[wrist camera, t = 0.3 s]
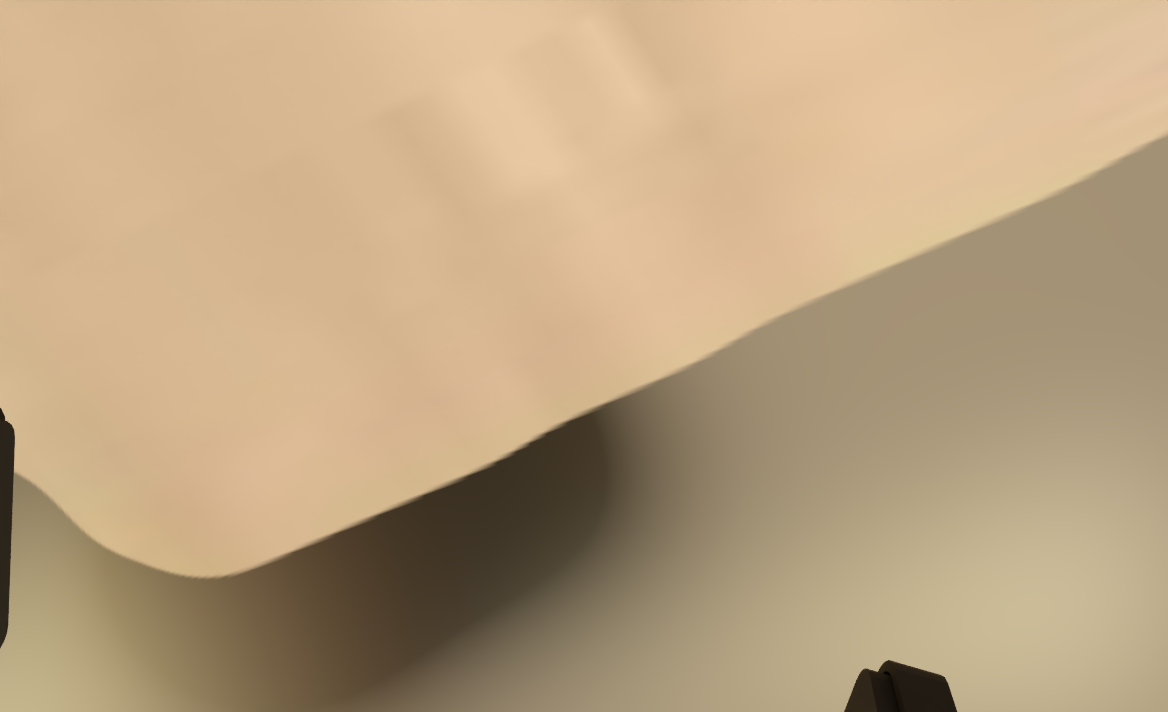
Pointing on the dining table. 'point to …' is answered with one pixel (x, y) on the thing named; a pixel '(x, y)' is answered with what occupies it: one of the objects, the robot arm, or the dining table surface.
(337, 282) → the dining table surface
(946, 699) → the robot arm
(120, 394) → the dining table surface
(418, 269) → the dining table surface
